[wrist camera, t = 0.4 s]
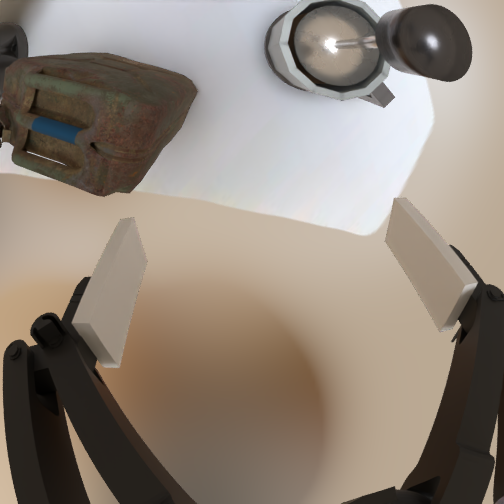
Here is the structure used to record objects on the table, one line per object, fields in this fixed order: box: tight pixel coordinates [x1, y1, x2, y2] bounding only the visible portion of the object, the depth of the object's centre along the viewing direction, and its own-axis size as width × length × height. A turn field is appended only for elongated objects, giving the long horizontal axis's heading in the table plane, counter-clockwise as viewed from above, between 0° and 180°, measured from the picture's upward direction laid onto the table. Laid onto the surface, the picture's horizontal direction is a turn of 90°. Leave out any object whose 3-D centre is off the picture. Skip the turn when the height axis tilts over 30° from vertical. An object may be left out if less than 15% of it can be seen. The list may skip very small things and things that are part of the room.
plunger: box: [294, 4, 472, 86], centre depth 17 cm, size 9×9×18 cm
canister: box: [0, 53, 198, 197], centre depth 26 cm, size 19×8×25 cm, turn 64°
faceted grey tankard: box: [264, 0, 395, 108], centre depth 29 cm, size 15×13×13 cm
